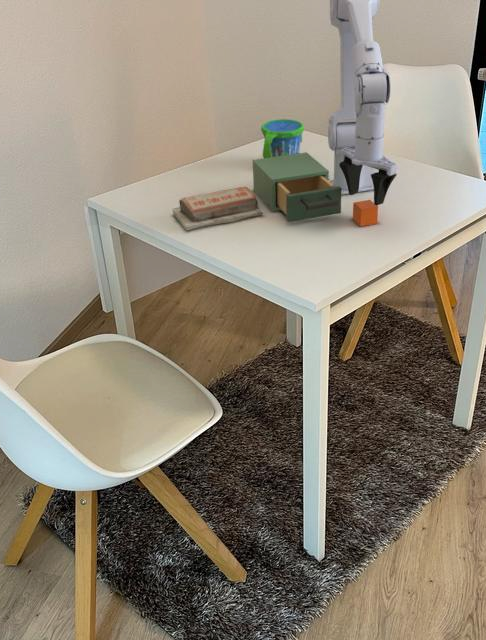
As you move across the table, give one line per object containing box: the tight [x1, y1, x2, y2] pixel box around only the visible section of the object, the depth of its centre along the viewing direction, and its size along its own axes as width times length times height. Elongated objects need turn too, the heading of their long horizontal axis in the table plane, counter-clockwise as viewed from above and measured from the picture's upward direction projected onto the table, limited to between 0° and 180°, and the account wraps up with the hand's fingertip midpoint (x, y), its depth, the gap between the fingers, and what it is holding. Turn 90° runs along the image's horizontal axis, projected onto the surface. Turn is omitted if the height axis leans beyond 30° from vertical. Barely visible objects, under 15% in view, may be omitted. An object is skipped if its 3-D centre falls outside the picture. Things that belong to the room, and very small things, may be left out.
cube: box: [352, 199, 379, 227], centre depth 157 cm, size 4×4×4 cm
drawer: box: [275, 175, 342, 223], centre depth 160 cm, size 17×12×6 cm
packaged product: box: [171, 186, 263, 231], centre depth 161 cm, size 18×5×10 cm
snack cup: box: [260, 118, 305, 159], centre depth 186 cm, size 16×10×10 cm
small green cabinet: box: [252, 151, 330, 213], centre depth 169 cm, size 14×14×8 cm
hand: (366, 198), depth 155 cm, fingers open, 7 cm apart
